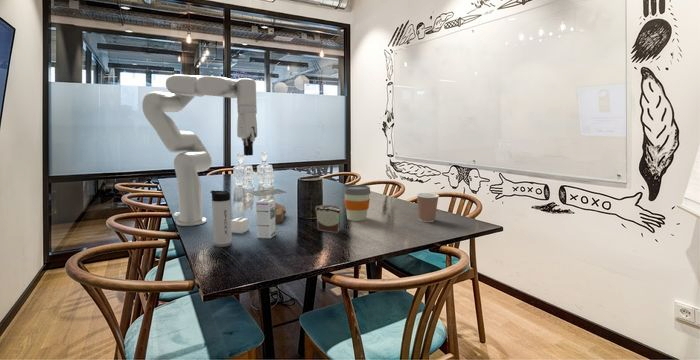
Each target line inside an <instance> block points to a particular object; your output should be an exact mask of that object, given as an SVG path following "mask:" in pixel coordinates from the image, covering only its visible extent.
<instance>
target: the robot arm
mask: <svg viewBox="0 0 700 360" xmlns="http://www.w3.org/2000/svg"><path fill="white" fill-rule="evenodd" d="M165 87H166V89H167V90H168V92H164V91H151V92H149V93H147V94H145V95H144V97H143V99H142V103H141V104H142V112H143V114H144V117H145V118H146V120H147V121H148V123H149V124H150V126H152V128H153V129H154V130H155V131H156V134H157V135H158V137H159V138H160V140H161V142H162V143H163V145H164V146H165V148H166V149H167V150H168V152H170V153H172V154H173V153H174V154H177V155H176V156H175V158H174V159H173V169H174V172H175V176H176V182H177V183H176V184H177V185H176V186H177V197H178V198H177V199H178V212H177V211H175V212H174V214H173V215H172V217H173V218H177V220H175V224H176V226H180V227H181V226H183V227H192V226H193V227H194V226H198V225H203V224H205V223H207V218H206V217H203V216H204V215H203V197H202V183H201V179H200V177H199V174H198V173H200V172H205V171H208V170H209V169H210V168H211V167H212V164H213V163H212V162H213V161H212V158H211V155H210V153H209V151H208V150H207V148H206V146H205V144H203V142H202V140H201V139H200V137H199V136H198V135H197V134H196V133H194V132H192V131H187V130H182V129H180V128H179V127H178V125H177V124H176V122H175V121H174V120H173V119H172V117H170V116H169V115H168V114H166V113H178V112H180V111H182V110H183V109H185V107H187V105H188V104H189V103H190V102H191V101H192V100H193V99H195V97H204V96H208V97H209V96H212V97H222V98H229V99H236V104H237V108H236V109H237V125H236V129H237V130H236V131H237V132H236V135H237V137H238V138H239V139H241V141H242V144H243V155H244V156H253V155H254V148H253V146H254V142H255V140H256V138H257V137H258V122H257V113H258V112H257V111H258V110H257V82H256V80H255V79H252V78H247V77H246V78H238V79H233V78H228V77H224V76H212V75H190V74H172V75H170V76H168V77H167V78H166V81H165Z"/></svg>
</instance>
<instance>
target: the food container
mask: <svg viewBox="0 0 700 360" xmlns="http://www.w3.org/2000/svg"><path fill="white" fill-rule="evenodd" d="M314 212H315V213H316V214H315V215H316V223H317V230H318V231H323V232H330V233H335V234H337V233H339V232H340V230H341V229H340V227H341V218H342V217H341V216H342V214H343V209H342V207H341V206H339V205H335V204H322V205H316V206H315V209H314Z"/></svg>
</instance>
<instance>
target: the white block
mask: <svg viewBox="0 0 700 360" xmlns="http://www.w3.org/2000/svg"><path fill="white" fill-rule="evenodd" d="M249 230H250V228H249V218H244V217H236V218H233V219H231V233H234V234H235V233H237V234H244V233H245V232H248V231H249Z"/></svg>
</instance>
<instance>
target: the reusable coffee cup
mask: <svg viewBox="0 0 700 360" xmlns="http://www.w3.org/2000/svg"><path fill="white" fill-rule="evenodd" d="M343 194H344V199H343V200H344V201H343V202H344V209H345V210H346V218H347V220H349V221H354V222H356V221H357V222H360V221H366V219H367V215H368V210H369V207H370V195H371V187H370V186H368V185H362V184H361V185H360V184H352V185H351V184H350V185H345V186H344V187H343Z"/></svg>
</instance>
